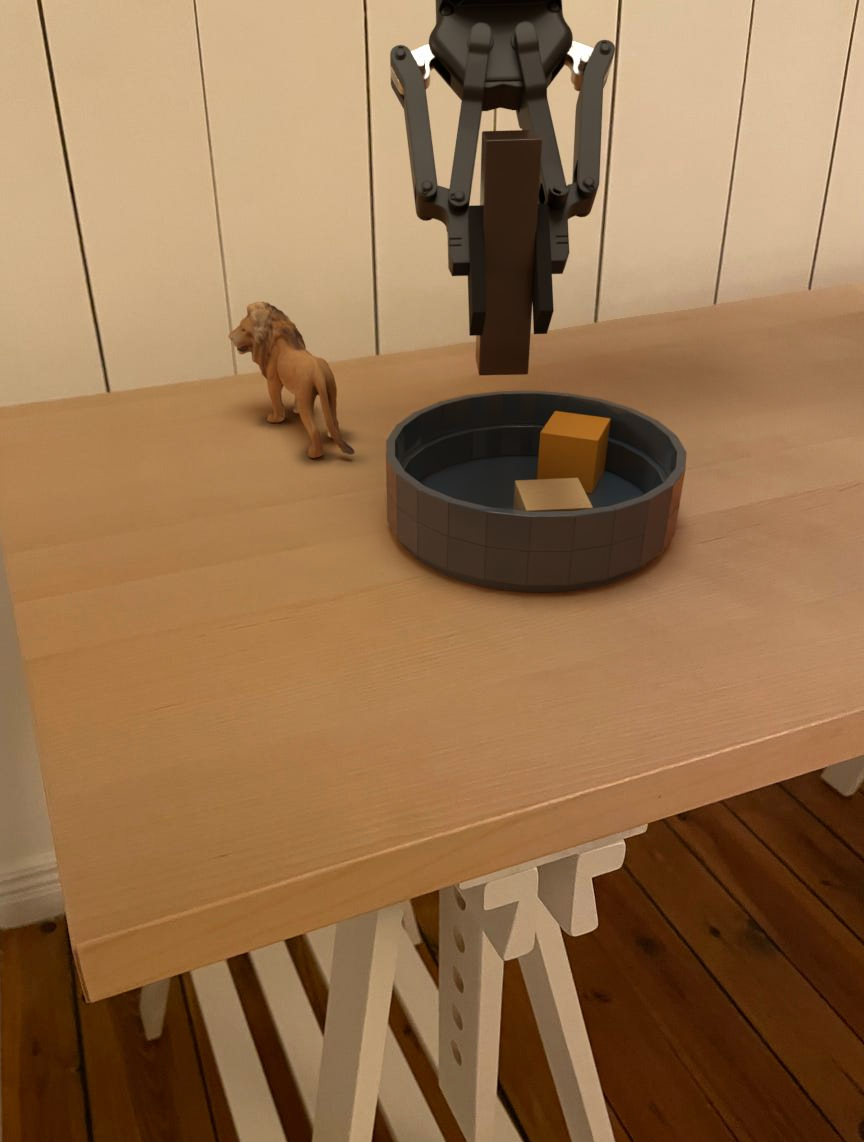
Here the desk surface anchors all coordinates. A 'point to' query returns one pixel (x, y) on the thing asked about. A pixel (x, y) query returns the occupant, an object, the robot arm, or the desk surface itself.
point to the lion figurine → (290, 370)
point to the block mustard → (574, 448)
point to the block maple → (550, 495)
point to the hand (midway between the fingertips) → (510, 322)
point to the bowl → (509, 453)
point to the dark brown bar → (508, 247)
